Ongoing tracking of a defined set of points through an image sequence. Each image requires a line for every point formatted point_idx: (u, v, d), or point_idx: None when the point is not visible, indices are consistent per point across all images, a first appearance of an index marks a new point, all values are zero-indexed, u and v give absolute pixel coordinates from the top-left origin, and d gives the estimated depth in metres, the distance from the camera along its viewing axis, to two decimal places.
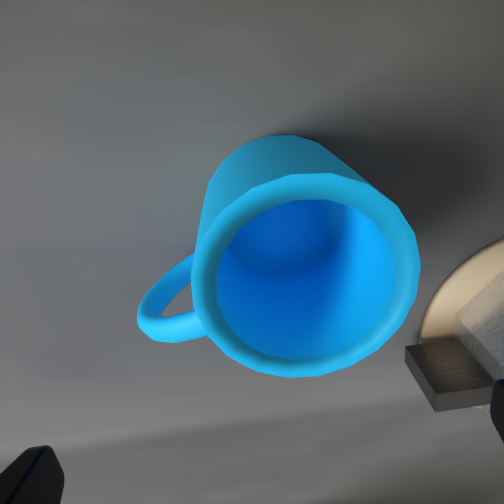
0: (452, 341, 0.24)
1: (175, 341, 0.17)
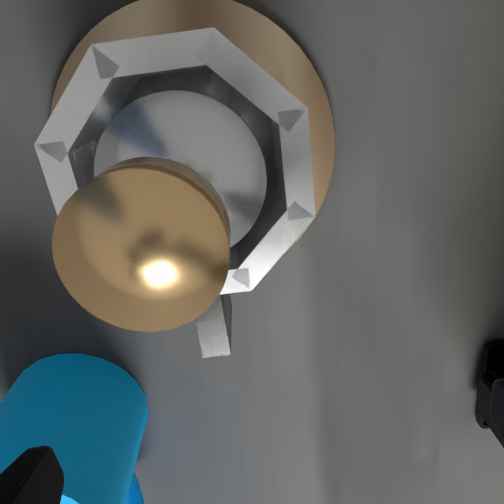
0: None
1: None
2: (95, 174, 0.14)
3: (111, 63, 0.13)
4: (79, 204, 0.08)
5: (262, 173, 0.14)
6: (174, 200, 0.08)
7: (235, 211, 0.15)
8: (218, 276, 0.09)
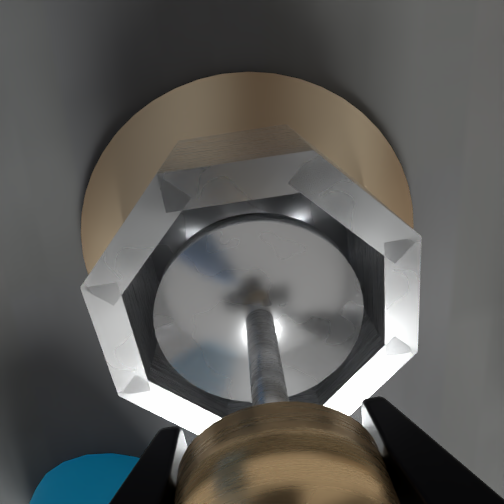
0: None
1: None
2: (155, 316, 0.12)
3: (181, 194, 0.10)
4: None
5: (358, 308, 0.12)
6: None
7: (322, 349, 0.12)
8: None
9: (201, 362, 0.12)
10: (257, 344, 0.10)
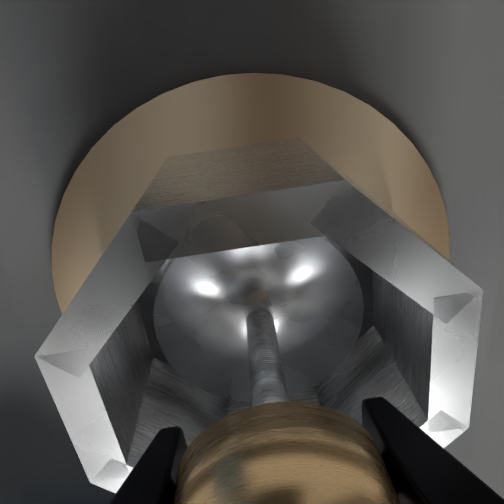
0: None
1: None
2: (155, 316, 0.12)
3: (165, 238, 0.08)
4: None
5: (358, 308, 0.12)
6: None
7: (322, 349, 0.12)
8: None
9: (201, 362, 0.12)
10: (257, 344, 0.10)
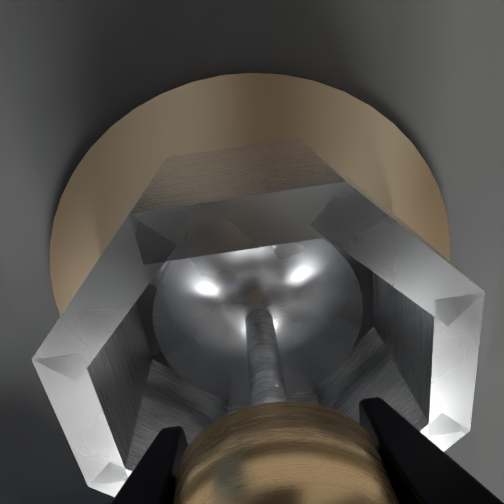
0: None
1: None
2: (154, 316, 0.12)
3: (164, 240, 0.07)
4: None
5: (357, 308, 0.12)
6: None
7: (322, 349, 0.12)
8: None
9: (200, 362, 0.12)
10: (256, 344, 0.10)
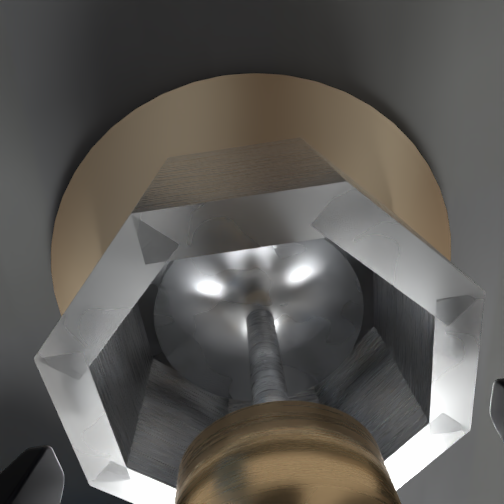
0: None
1: None
2: (155, 315, 0.12)
3: (165, 240, 0.07)
4: None
5: (358, 308, 0.12)
6: None
7: (322, 348, 0.12)
8: None
9: (202, 362, 0.12)
10: (257, 343, 0.10)
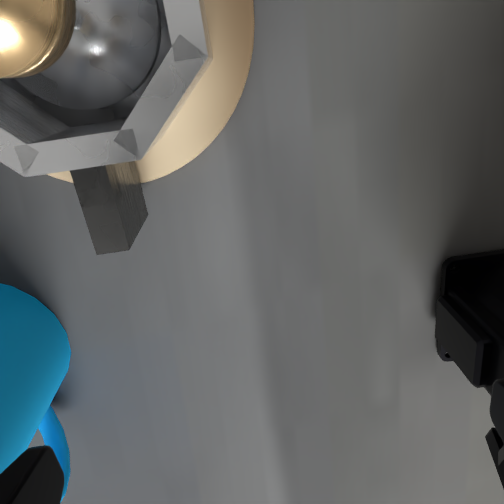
0: None
1: None
2: None
3: None
4: None
5: (152, 8, 0.14)
6: None
7: (129, 52, 0.15)
8: (43, 8, 0.09)
9: None
10: None
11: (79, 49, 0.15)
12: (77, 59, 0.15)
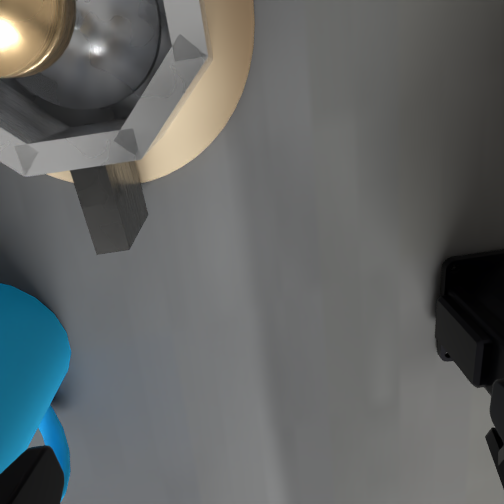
0: None
1: None
2: None
3: None
4: None
5: (152, 8, 0.14)
6: None
7: (129, 52, 0.15)
8: (43, 8, 0.09)
9: None
10: None
11: (79, 49, 0.15)
12: (77, 59, 0.15)
